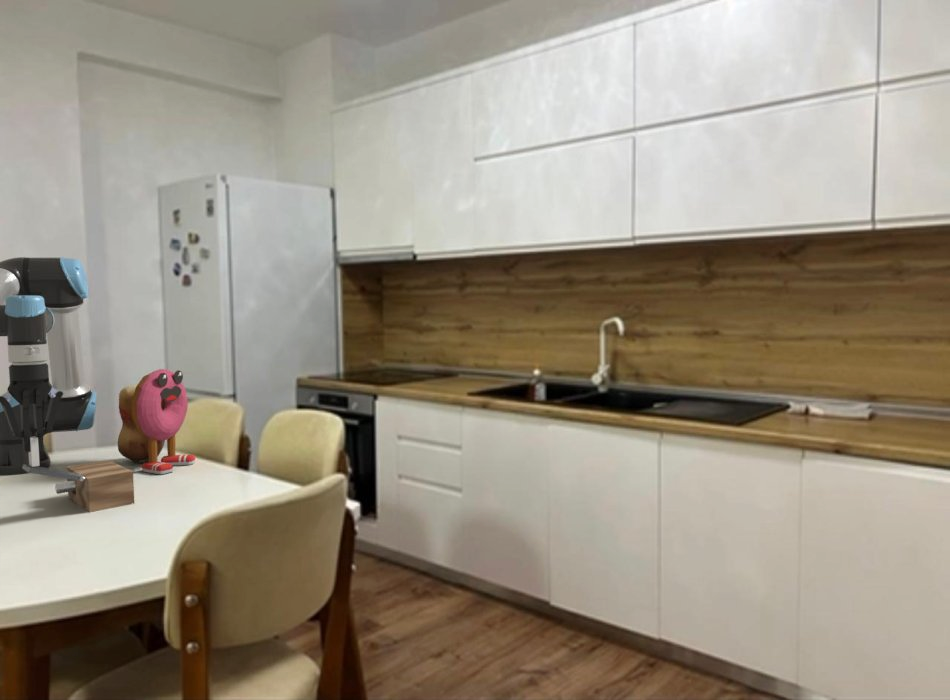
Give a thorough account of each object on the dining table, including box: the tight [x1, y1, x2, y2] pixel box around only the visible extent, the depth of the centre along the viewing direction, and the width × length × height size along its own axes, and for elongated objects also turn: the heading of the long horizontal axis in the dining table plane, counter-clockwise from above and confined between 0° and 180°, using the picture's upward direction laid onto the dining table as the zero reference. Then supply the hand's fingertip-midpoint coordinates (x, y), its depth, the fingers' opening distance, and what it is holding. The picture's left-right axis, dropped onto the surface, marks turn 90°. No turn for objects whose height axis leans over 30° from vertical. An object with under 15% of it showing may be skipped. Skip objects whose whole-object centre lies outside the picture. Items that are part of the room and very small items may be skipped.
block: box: [66, 460, 135, 513], centre depth 171 cm, size 18×10×8 cm, turn 45°
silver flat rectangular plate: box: [22, 464, 86, 482], centre depth 159 cm, size 7×1×12 cm
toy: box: [132, 368, 196, 475], centre depth 204 cm, size 21×10×30 cm, turn 168°
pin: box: [54, 480, 76, 495], centre depth 173 cm, size 15×5×5 cm, turn 135°
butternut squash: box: [117, 383, 166, 464], centre depth 213 cm, size 14×13×25 cm
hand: (34, 465), depth 156 cm, fingers closed
